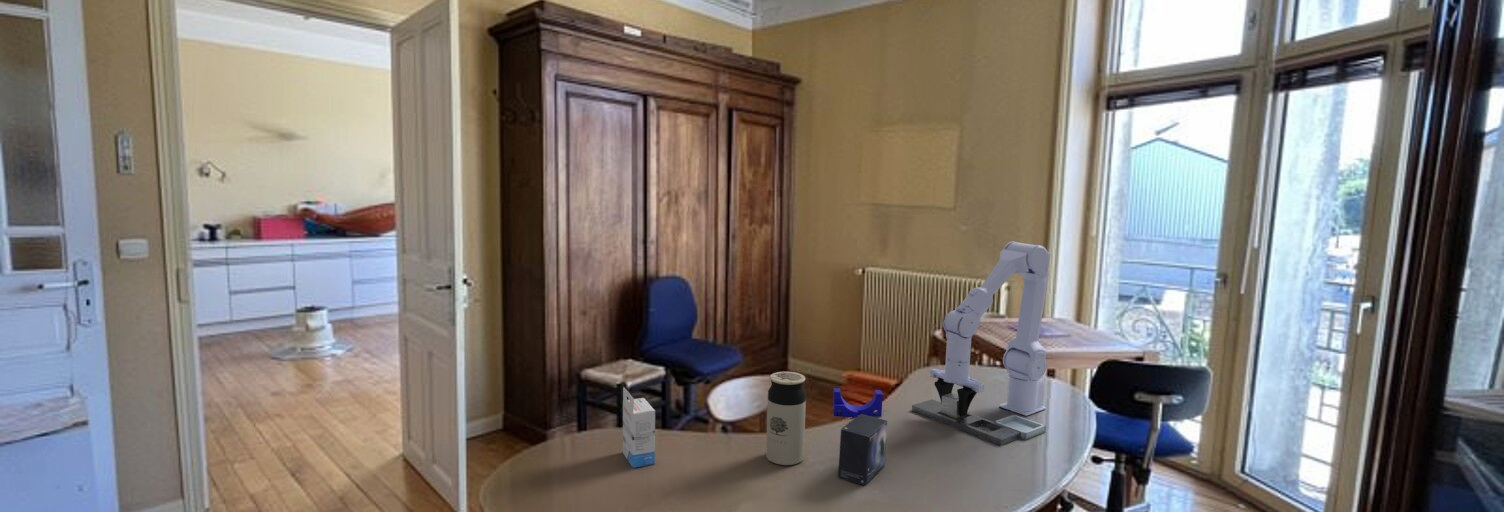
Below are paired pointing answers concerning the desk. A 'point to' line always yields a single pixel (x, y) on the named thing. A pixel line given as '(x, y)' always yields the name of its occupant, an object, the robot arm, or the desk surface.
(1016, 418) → the parts tray
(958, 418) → the grey rectangular block
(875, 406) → the blue cradle stand
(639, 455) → the ink box
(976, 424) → the rail
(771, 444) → the travel mug
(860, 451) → the small box
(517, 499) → the desk surface
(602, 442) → the desk surface
